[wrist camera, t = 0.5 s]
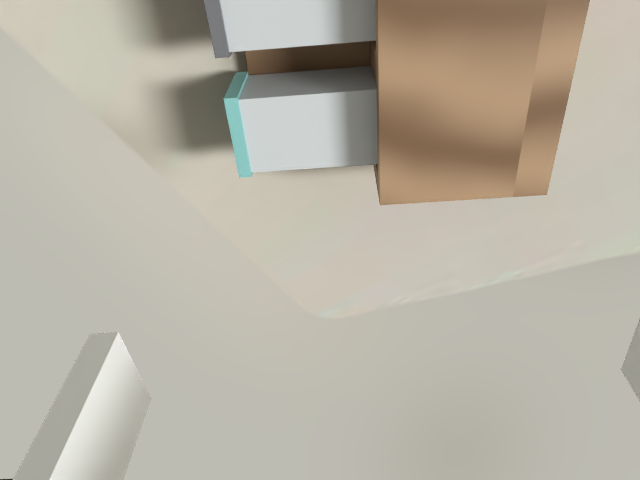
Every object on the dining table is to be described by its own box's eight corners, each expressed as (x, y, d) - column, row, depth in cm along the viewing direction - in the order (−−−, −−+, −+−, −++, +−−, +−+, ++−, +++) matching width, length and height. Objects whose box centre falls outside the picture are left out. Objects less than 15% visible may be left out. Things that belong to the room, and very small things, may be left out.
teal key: (235, 72, 32) (223, 98, 29) (432, 57, 32) (446, 81, 28) (248, 144, 36) (239, 177, 32) (428, 132, 35) (440, 164, 31)
